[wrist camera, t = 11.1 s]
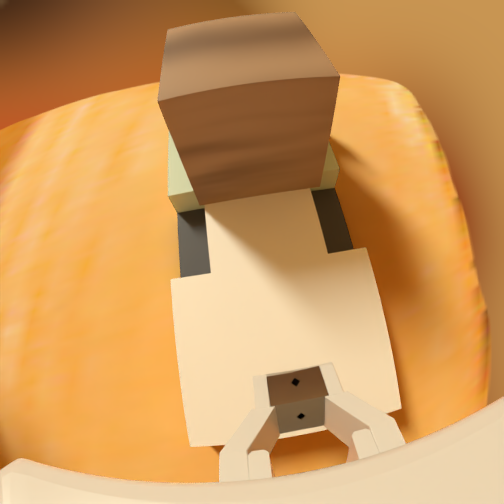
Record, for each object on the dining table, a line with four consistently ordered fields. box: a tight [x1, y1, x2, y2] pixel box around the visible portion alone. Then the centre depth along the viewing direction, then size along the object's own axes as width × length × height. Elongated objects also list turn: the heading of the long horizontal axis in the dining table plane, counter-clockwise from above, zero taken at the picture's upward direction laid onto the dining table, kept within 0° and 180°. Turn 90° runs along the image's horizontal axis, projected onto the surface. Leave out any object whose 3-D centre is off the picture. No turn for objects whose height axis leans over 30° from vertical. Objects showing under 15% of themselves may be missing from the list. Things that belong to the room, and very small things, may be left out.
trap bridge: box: [168, 132, 401, 447], centre depth 19 cm, size 24×12×6 cm, turn 8°
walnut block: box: [158, 12, 340, 206], centre depth 17 cm, size 8×8×9 cm
